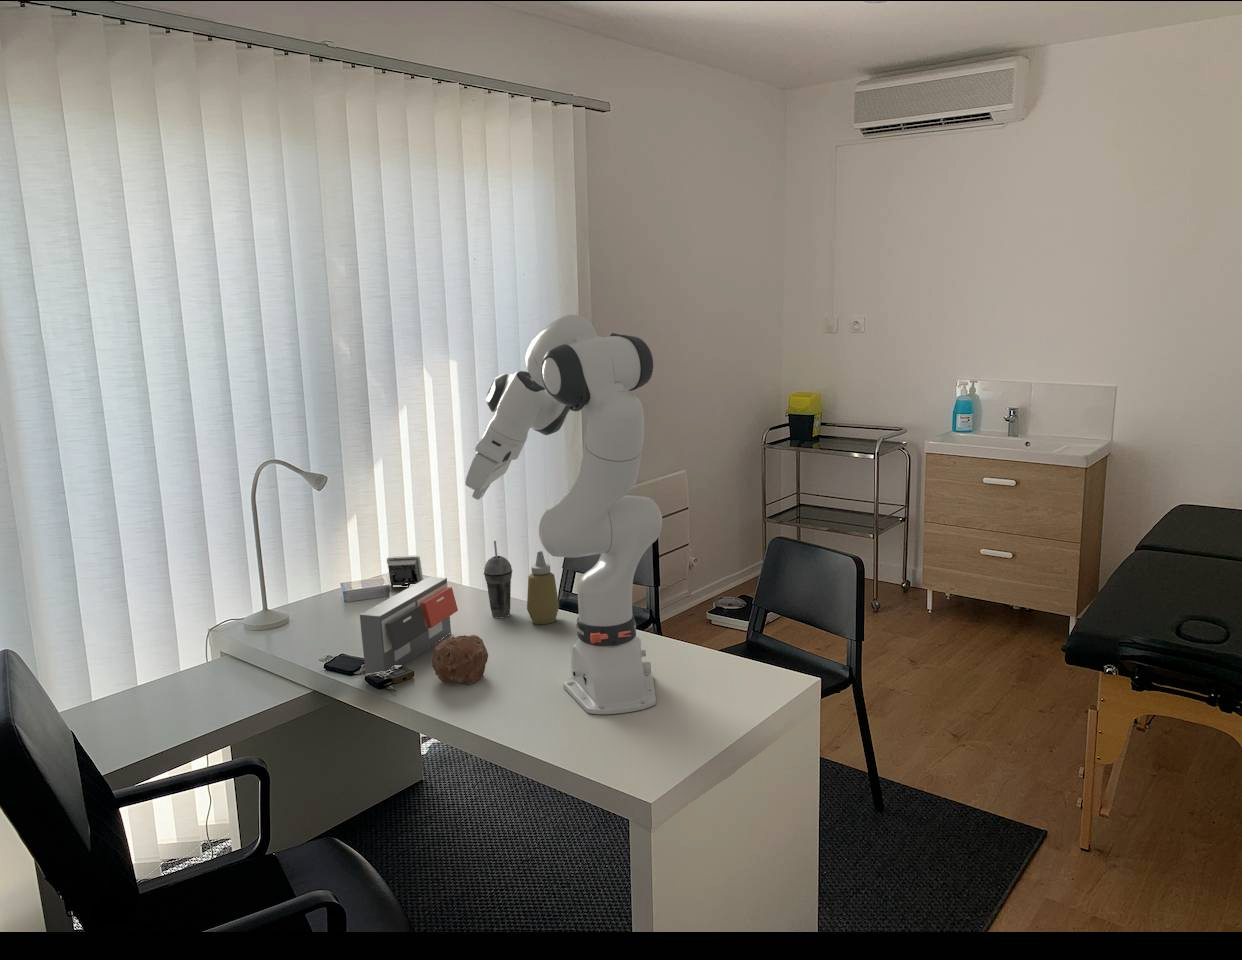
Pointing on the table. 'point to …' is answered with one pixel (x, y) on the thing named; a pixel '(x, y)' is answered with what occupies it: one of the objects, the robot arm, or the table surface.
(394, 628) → the panel
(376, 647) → the switch panel
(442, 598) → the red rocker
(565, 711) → the table surface
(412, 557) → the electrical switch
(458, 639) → the decorative rock
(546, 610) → the squeeze bottle
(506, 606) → the beverage cup
